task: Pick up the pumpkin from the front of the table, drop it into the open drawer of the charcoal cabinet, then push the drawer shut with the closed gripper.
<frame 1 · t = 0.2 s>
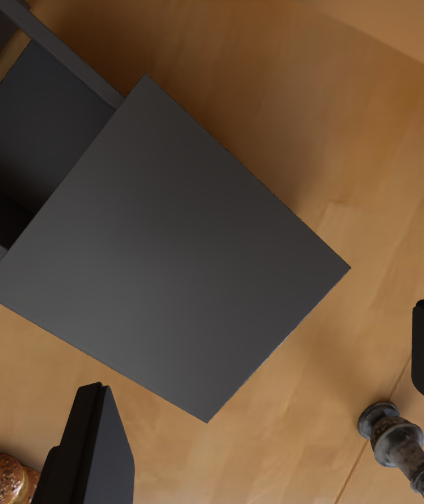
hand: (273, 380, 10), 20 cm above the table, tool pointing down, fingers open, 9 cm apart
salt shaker: (377, 419, 39), on the table
drawer: (5, 122, 19), point 5 cm above the table, slide at 9.0 cm
cabinet: (171, 235, 28), on the table
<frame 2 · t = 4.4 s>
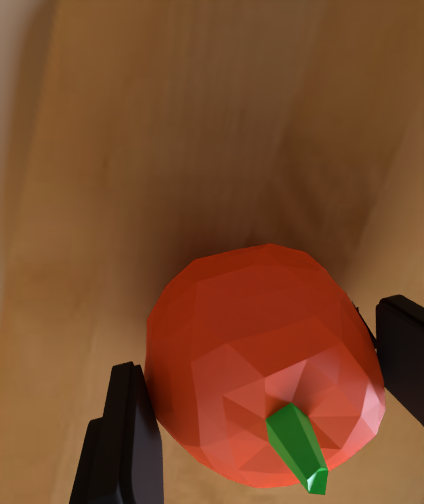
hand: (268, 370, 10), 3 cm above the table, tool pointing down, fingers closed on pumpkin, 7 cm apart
pumpkin: (237, 320, 13), on the table, touching gripper
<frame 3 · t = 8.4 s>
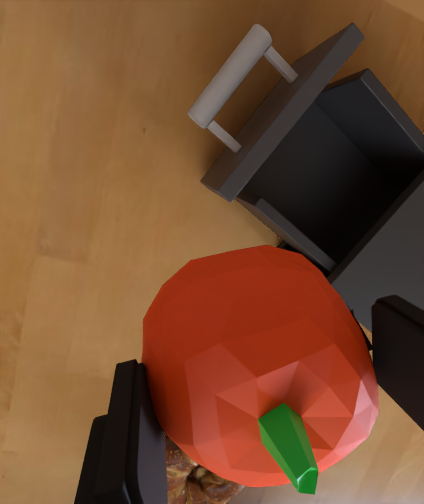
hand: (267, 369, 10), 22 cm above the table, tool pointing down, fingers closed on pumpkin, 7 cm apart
drawer: (308, 163, 25), point 5 cm above the table, slide at 9.0 cm
pretzel: (196, 457, 39), on the table
pumpkin: (234, 320, 13), point 18 cm above the table, touching gripper
cabinet: (370, 244, 34), on the table
when the fingers open (10 cm above the table, at t = 12.5 s): pumpkin drops 4 cm, resting on drawer.
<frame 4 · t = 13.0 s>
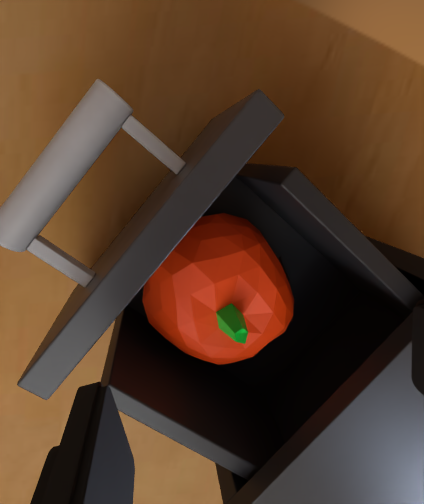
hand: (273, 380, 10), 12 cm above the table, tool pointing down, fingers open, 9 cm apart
drawer: (222, 286, 16), point 5 cm above the table, slide at 9.0 cm, touching pumpkin
pumpkin: (205, 270, 19), point 2 cm above the table, touching drawer
cabinet: (335, 357, 25), on the table
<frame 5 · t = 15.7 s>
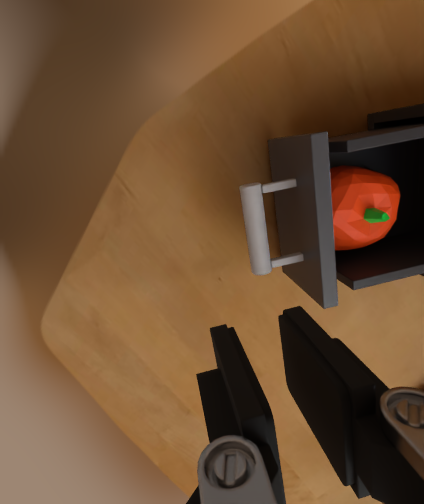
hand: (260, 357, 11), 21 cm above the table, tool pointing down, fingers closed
drawer: (351, 205, 27), point 5 cm above the table, slide at 9.0 cm, touching pumpkin
pumpkin: (331, 205, 30), point 2 cm above the table, touching drawer
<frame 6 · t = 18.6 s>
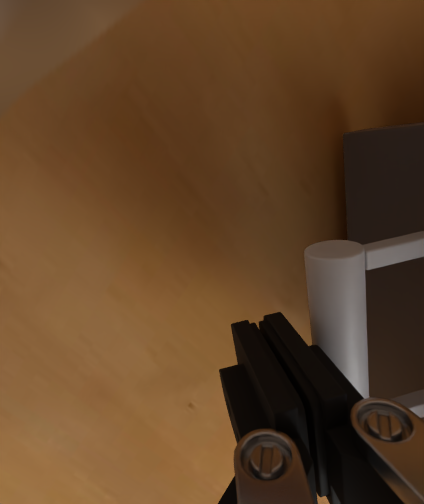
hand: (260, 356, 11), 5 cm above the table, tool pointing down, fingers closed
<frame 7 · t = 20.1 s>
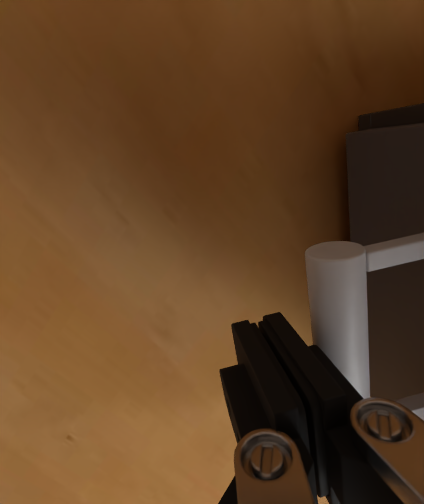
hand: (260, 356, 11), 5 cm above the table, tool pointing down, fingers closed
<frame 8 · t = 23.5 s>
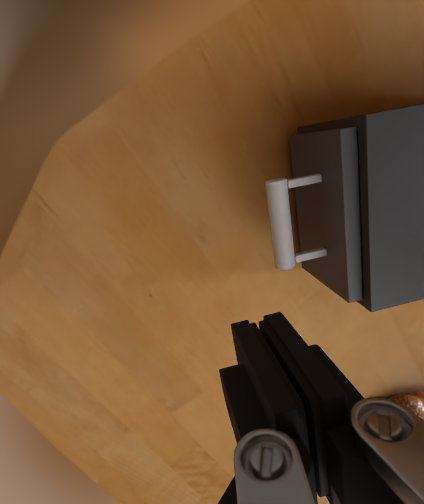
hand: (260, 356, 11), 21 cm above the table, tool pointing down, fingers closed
drawer: (374, 201, 28), point 5 cm above the table, slide at 0.0 cm, touching cabinet, pumpkin
pretzel: (393, 421, 43), on the table
cabinet: (377, 186, 33), on the table
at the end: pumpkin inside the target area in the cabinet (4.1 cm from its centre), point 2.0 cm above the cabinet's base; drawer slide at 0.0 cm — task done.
